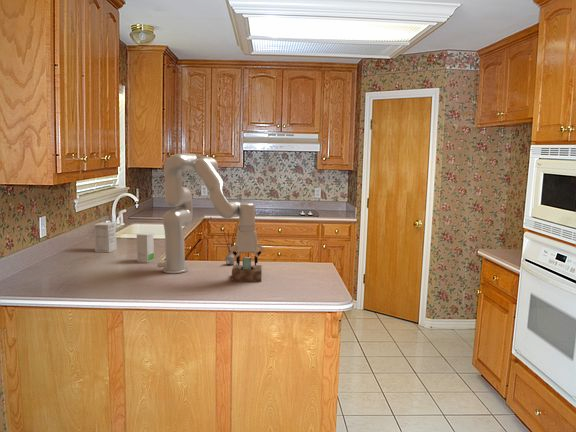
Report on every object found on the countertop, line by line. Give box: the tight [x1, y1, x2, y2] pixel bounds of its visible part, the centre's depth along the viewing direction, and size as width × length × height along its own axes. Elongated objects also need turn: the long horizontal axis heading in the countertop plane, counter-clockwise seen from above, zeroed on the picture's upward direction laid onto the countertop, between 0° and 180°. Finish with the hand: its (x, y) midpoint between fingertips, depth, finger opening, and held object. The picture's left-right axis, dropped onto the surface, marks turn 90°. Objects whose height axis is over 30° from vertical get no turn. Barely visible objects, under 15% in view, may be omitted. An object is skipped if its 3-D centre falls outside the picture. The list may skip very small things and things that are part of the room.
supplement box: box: [93, 221, 118, 253], centre depth 306 cm, size 10×9×17 cm
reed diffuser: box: [222, 228, 241, 265], centre depth 274 cm, size 10×7×20 cm
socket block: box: [231, 264, 263, 283], centre depth 247 cm, size 14×12×5 cm
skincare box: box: [136, 232, 155, 264], centre depth 280 cm, size 8×7×16 cm
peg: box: [242, 256, 252, 270], centre depth 246 cm, size 4×4×10 cm
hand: (247, 264), depth 246 cm, fingers open, 7 cm apart
